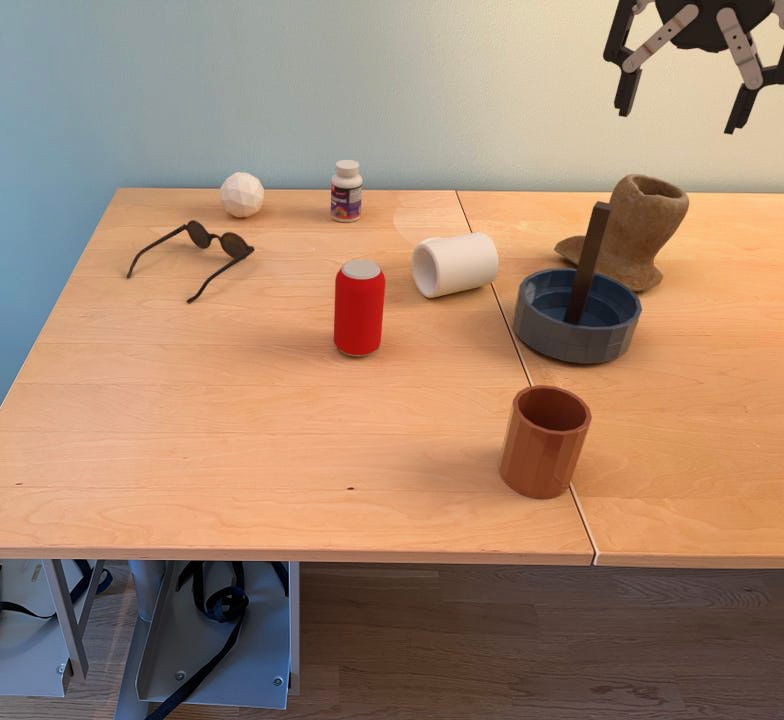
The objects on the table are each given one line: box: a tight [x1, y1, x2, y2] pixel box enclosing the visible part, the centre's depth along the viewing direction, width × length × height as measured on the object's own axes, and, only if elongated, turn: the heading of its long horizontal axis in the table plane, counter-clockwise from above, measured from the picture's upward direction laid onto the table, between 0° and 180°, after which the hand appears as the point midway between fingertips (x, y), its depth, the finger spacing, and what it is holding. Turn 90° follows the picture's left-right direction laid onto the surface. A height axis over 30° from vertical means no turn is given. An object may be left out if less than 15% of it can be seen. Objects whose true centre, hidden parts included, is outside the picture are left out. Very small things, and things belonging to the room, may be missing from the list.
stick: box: [563, 200, 614, 326], centre depth 89 cm, size 2×2×18 cm
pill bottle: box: [330, 159, 363, 223], centre depth 122 cm, size 5×5×10 cm
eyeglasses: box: [126, 219, 256, 304], centre depth 107 cm, size 15×15×5 cm
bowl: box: [512, 267, 643, 364], centre depth 93 cm, size 15×15×6 cm
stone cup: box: [553, 173, 690, 292], centre depth 104 cm, size 15×12×15 cm
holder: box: [498, 384, 593, 500], centre depth 71 cm, size 7×7×9 cm
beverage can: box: [333, 259, 386, 357], centre depth 89 cm, size 6×6×12 cm
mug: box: [410, 231, 499, 299], centre depth 104 cm, size 12×10×8 cm
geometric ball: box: [219, 171, 265, 218], centre depth 123 cm, size 8×8×8 cm
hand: (675, 122), depth 61 cm, fingers open, 8 cm apart
